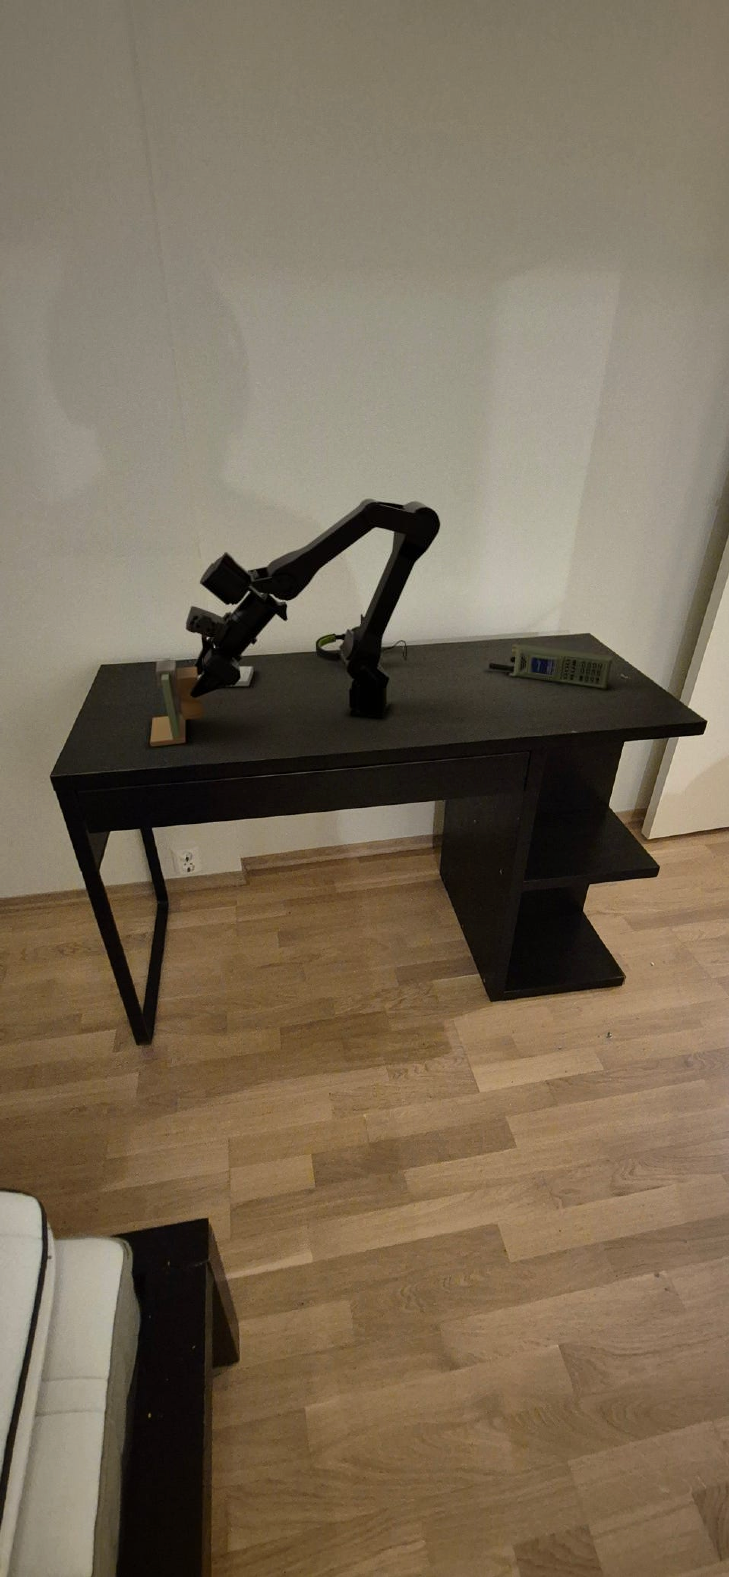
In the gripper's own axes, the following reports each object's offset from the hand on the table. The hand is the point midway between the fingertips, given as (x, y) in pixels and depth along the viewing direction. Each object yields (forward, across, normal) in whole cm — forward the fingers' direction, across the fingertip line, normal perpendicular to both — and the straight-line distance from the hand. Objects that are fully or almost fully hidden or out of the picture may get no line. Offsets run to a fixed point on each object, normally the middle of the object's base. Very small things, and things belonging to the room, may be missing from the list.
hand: (191, 686), depth 119 cm
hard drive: (+2, -23, +10) cm, 25 cm away
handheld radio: (-46, -6, +58) cm, 74 cm away
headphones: (-20, -26, +32) cm, 46 cm away
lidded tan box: (+5, 0, +2) cm, 6 cm away
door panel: (+10, 0, +2) cm, 10 cm away
